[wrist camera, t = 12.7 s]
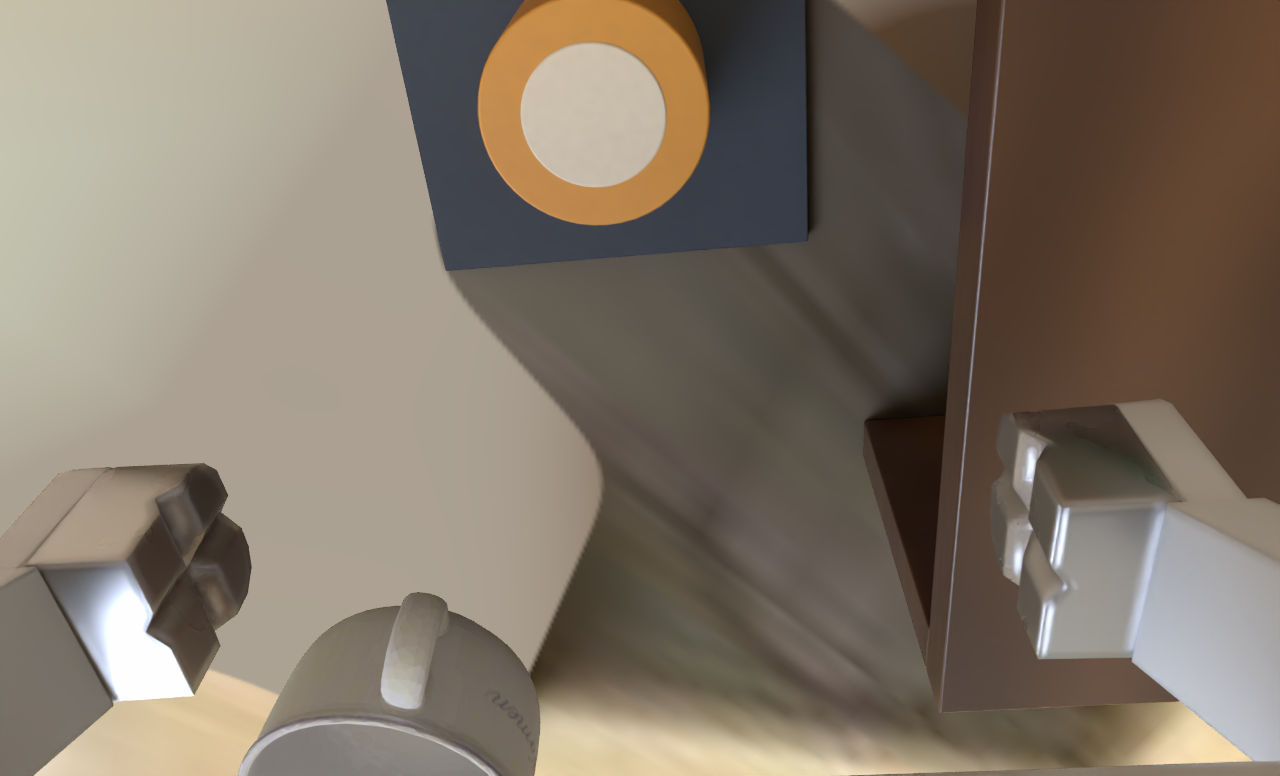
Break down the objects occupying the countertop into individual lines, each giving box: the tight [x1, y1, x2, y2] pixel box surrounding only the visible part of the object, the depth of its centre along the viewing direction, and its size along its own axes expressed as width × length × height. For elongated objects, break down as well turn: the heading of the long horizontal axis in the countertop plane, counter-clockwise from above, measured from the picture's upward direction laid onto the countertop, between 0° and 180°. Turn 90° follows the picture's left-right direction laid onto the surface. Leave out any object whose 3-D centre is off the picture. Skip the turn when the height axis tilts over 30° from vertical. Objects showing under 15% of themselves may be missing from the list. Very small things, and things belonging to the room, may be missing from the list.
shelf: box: [863, 0, 1280, 713], centre depth 26 cm, size 14×20×12 cm
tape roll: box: [478, 0, 710, 225], centre depth 27 cm, size 6×6×5 cm
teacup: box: [238, 592, 540, 776], centre depth 39 cm, size 14×11×8 cm
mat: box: [386, 0, 808, 271], centre depth 29 cm, size 12×12×1 cm
